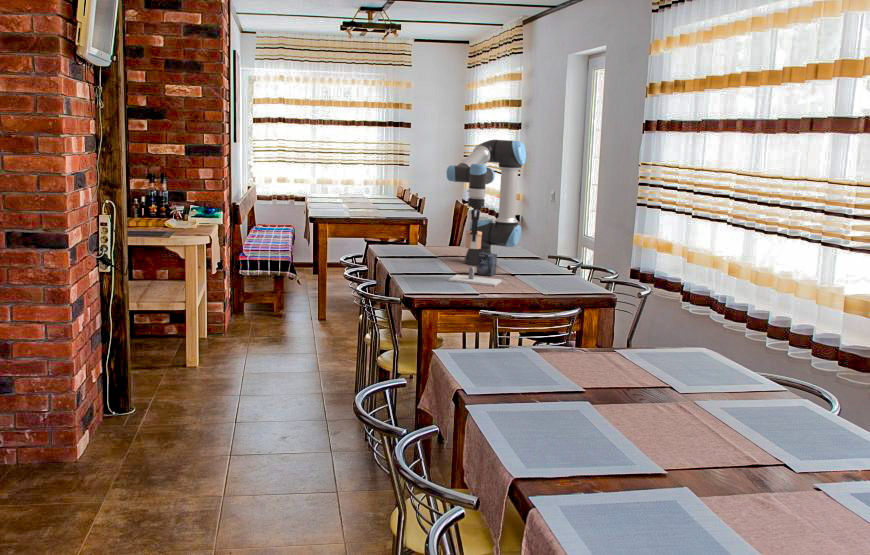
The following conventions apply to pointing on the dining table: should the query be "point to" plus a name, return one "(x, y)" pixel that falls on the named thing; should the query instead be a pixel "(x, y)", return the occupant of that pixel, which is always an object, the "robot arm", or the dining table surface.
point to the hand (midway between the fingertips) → (473, 247)
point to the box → (486, 264)
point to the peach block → (468, 239)
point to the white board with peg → (475, 279)
